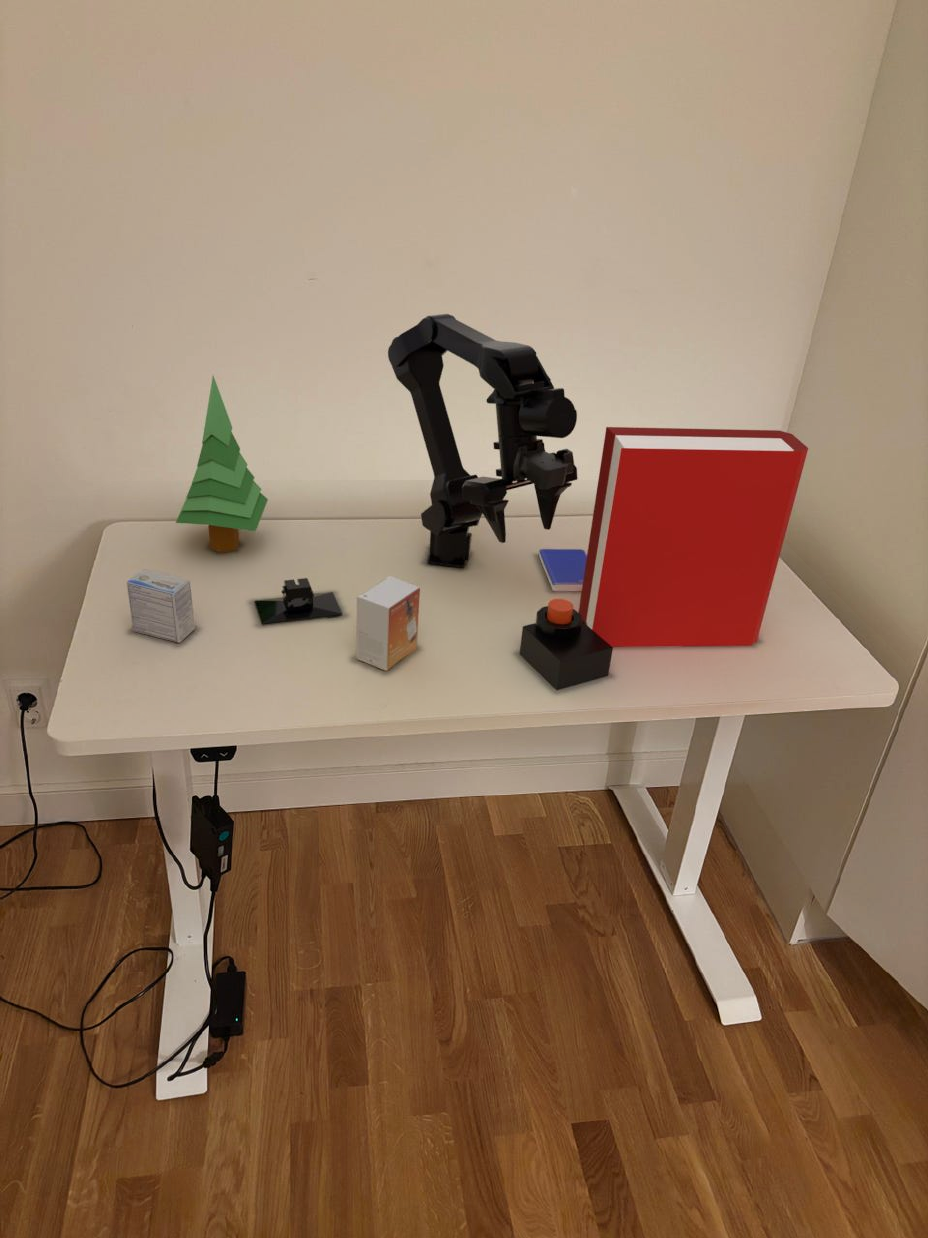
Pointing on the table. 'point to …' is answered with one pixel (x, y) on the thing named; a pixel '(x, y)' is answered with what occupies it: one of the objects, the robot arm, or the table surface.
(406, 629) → the small box
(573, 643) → the button base
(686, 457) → the book
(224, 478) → the decorative tree
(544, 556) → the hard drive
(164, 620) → the medicine box
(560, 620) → the button
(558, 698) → the table surface
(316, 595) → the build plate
